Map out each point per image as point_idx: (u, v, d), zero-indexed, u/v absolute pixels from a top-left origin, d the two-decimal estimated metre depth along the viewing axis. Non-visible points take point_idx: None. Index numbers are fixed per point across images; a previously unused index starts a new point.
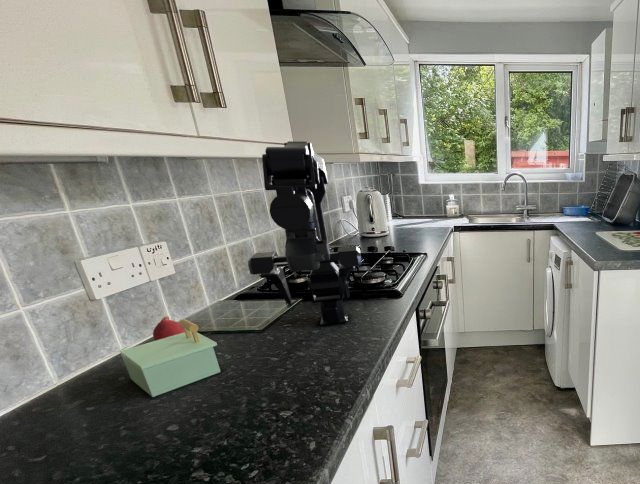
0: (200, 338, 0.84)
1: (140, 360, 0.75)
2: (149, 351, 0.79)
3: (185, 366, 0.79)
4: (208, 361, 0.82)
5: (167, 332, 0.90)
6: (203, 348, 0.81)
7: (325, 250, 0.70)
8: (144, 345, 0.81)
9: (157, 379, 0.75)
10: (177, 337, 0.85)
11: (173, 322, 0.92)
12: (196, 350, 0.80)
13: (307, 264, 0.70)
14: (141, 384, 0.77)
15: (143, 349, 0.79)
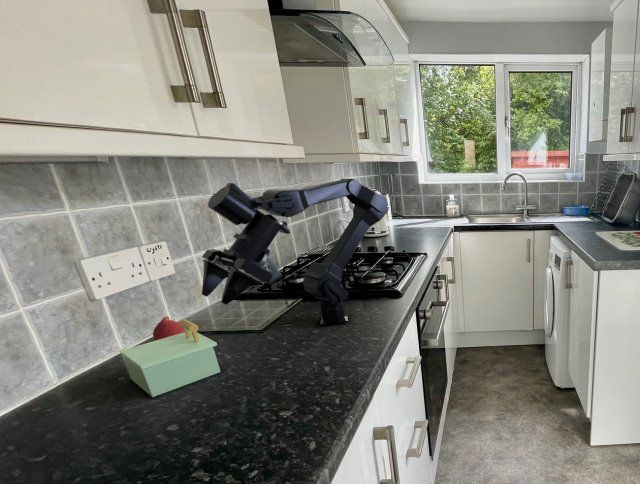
0: (200, 338, 0.84)
1: (140, 360, 0.75)
2: (149, 351, 0.79)
3: (185, 366, 0.79)
4: (208, 361, 0.82)
5: (167, 332, 0.90)
6: (203, 348, 0.81)
7: None
8: (144, 345, 0.81)
9: (157, 379, 0.75)
10: (177, 337, 0.85)
11: (173, 322, 0.92)
12: (196, 350, 0.80)
13: None
14: (141, 384, 0.77)
15: (143, 349, 0.79)
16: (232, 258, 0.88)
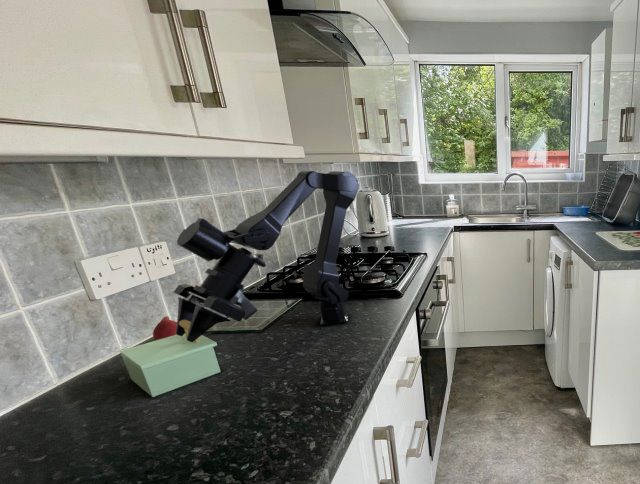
0: (200, 338, 0.84)
1: (140, 360, 0.75)
2: (149, 351, 0.79)
3: (185, 366, 0.79)
4: (208, 361, 0.82)
5: (167, 332, 0.90)
6: (203, 348, 0.81)
7: None
8: (144, 345, 0.81)
9: (157, 379, 0.75)
10: (177, 337, 0.85)
11: (173, 322, 0.92)
12: (196, 350, 0.80)
13: None
14: (141, 384, 0.77)
15: (143, 349, 0.79)
16: (204, 294, 0.86)
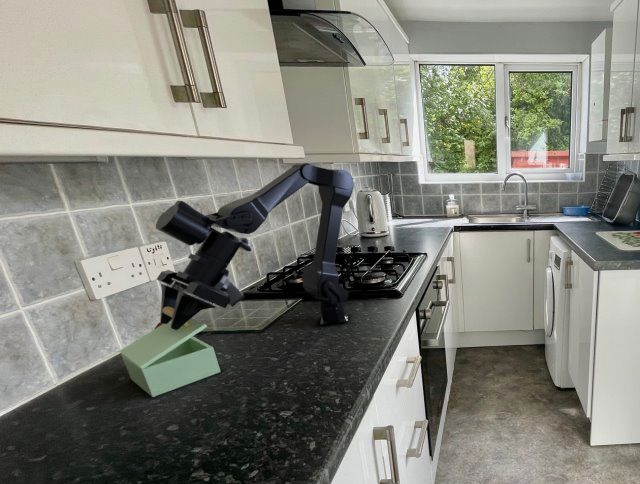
0: (189, 321, 0.82)
1: (138, 359, 0.75)
2: (145, 347, 0.78)
3: (185, 366, 0.79)
4: (208, 361, 0.82)
5: None
6: (194, 333, 0.79)
7: None
8: (140, 340, 0.80)
9: (157, 379, 0.75)
10: (168, 324, 0.83)
11: None
12: (188, 337, 0.78)
13: None
14: (141, 384, 0.77)
15: (140, 346, 0.79)
16: (188, 280, 0.83)
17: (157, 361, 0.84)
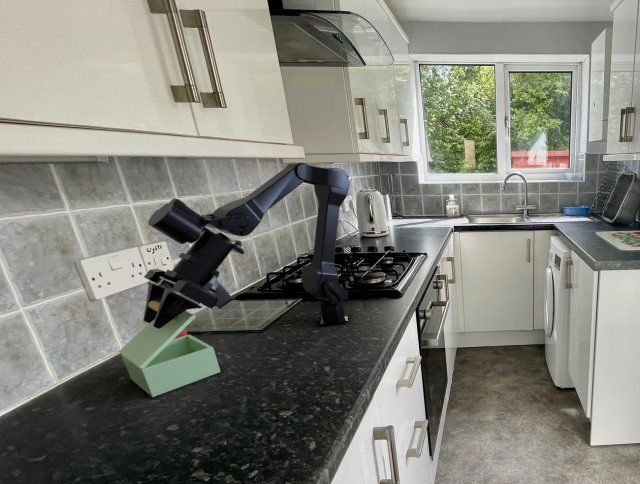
0: None
1: (137, 358, 0.75)
2: (141, 344, 0.77)
3: (185, 366, 0.79)
4: (208, 361, 0.82)
5: None
6: (185, 325, 0.77)
7: None
8: (136, 337, 0.80)
9: (157, 379, 0.75)
10: None
11: None
12: (179, 330, 0.77)
13: None
14: (141, 384, 0.77)
15: (136, 344, 0.78)
16: (176, 279, 0.81)
17: (157, 361, 0.84)
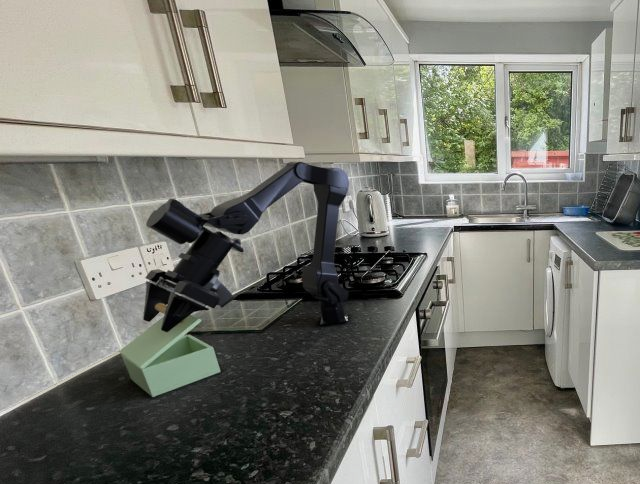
0: None
1: (137, 358, 0.75)
2: (143, 345, 0.78)
3: (185, 366, 0.79)
4: (208, 361, 0.82)
5: None
6: (189, 328, 0.78)
7: None
8: (138, 338, 0.80)
9: (157, 379, 0.75)
10: None
11: None
12: (183, 333, 0.77)
13: None
14: (141, 384, 0.77)
15: (138, 345, 0.78)
16: (177, 280, 0.81)
17: (157, 361, 0.84)
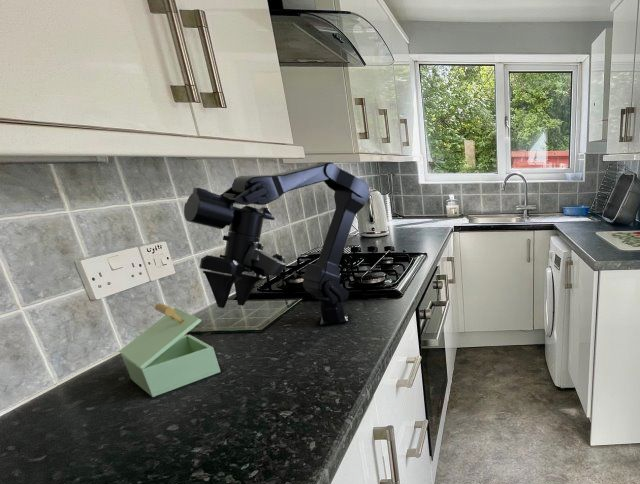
0: (184, 317, 0.81)
1: (137, 358, 0.75)
2: (143, 345, 0.78)
3: (185, 366, 0.79)
4: (208, 361, 0.82)
5: None
6: (189, 328, 0.78)
7: (284, 262, 0.93)
8: (138, 338, 0.80)
9: (157, 379, 0.75)
10: (164, 321, 0.82)
11: None
12: (183, 333, 0.77)
13: (280, 271, 0.90)
14: (141, 384, 0.77)
15: (138, 345, 0.78)
16: None
17: (157, 361, 0.84)
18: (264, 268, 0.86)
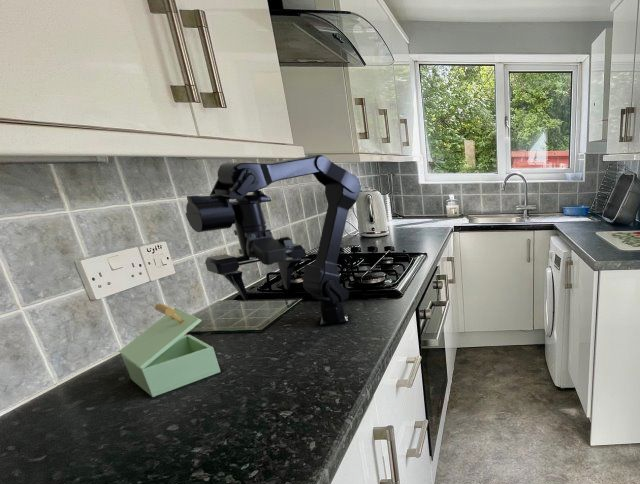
0: (184, 317, 0.81)
1: (137, 358, 0.75)
2: (143, 345, 0.78)
3: (185, 366, 0.79)
4: (208, 361, 0.82)
5: None
6: (189, 328, 0.78)
7: (291, 244, 0.88)
8: (138, 338, 0.80)
9: (157, 379, 0.75)
10: (164, 321, 0.82)
11: None
12: (183, 333, 0.77)
13: (280, 257, 0.86)
14: (141, 384, 0.77)
15: (138, 345, 0.78)
16: None
17: (157, 361, 0.84)
18: (259, 258, 0.85)
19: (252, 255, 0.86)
